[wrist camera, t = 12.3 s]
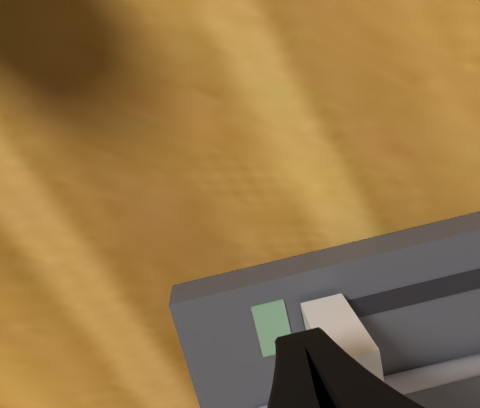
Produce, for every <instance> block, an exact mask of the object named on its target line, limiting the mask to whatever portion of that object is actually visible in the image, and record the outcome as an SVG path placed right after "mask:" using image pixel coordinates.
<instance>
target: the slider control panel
mask: <svg viewBox="0 0 480 408" xmlns="http://www.w3.org/2000/svg"><path fill="white" fill-rule="evenodd" d="M340 293H342V295H343V296H344V298H345V299H346V301H347V302H348V304H349V305H350V307H351V308H352V310H353V311H354V313H355V314H356V316H357V317H358V319H359V320H360V322H361V323H362V325H363V326H364V327H365V329H366V330H367V332H368V333H369V335H370V336H371V338H372V339H373V341H374V342H375V344H376V345H377V347H378V348H379V351H380V357H381V364H382V370H383V377H384V382H385V383H386V384H388V385H389V386H391V387H392V388H394V389H395V390H397V391H398V392H400V393H401V394H403V395H404V396H406V397H408V398H409V399H411V400H413V401H414V402H416V403H418V404H419V405H421V406H423V407H425V408H480V212H476V213H472V214H468V215H464V216H460V217H455V218H451V219H447V220H443V221H439V222H435V223H431V224H426V225H422V226H418V227H414V228H410V229H406V230H402V231H397V232H393V233H389V234H385V235H381V236H377V237H373V238H368V239H364V240H360V241H356V242H352V243H348V244H344V245H339V246H335V247H331V248H327V249H323V250H319V251H315V252H310V253H306V254H302V255H298V256H294V257H290V258H286V259H282V260H277V261H273V262H269V263H265V264H261V265H257V266H253V267H248V268H244V269H240V270H236V271H232V272H228V273H224V274H219V275H215V276H211V277H207V278H203V279H199V280H195V281H190V282H186V283H182V284H178V285H174V286H172V292H171V297H170V302H169V307H170V310H171V314H172V317H173V320H174V323H175V327H176V330H177V333H178V336H179V340H180V343H181V346H182V349H183V353H184V356H185V359H186V362H187V366H188V369H189V372H190V375H191V379H192V382H193V385H194V388H195V392H196V395H197V398H198V401H199V405H200V408H267V406H268V402H269V397H270V393H271V388H272V383H273V376H274V370H275V359H276V347H275V340H276V339H277V337H280V336H284V335H288V334H292V333H296V332H301V331H305V330H306V329H305V324H304V319H303V314H302V310H301V305H300V303H303V302H307V301H312V300H316V299H320V298H324V297H328V296H332V295H336V294H340Z"/></svg>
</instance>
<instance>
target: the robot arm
mask: <svg viewBox="0 0 480 408" xmlns="http://www.w3.org/2000/svg"><path fill="white" fill-rule="evenodd" d="M275 347H276V359H275V370H274V376H273V383H272V388H271V393H270V397H269V402H268V406H267V408H425V407H423V406H421V405H419V404H418V403H416V402H414V401H413V400H411V399H409V398H408V397H406V396H404V395H403V394H401V393H400V392H398V391H397V390H395V389H394V388H392V387H391V386H389V385H388V384H386V383H385V382H383V381H382V380H381V379H379V378H378V377H376V376H375V375H374V374H372V373H371V372H370V371H368V370H367V369H366V368H365V367H363V366H362V365H361V364H360V363H358V362H357V361H356V360H355V359H354V358H352V357H351V356H350V355H349V354H348V353H346V352H345V351H344V350H343V349H342V348H341V347H340V346H339V345H338V344H337V343H335V342H334V341H333V340H332V339H331V338H330V337H329V336H328V335H327V334H326V333H325V332H324V330H322V329H321V328H319V327H317V328H313V329H309V330H305V331H301V332H296V333H292V334H288V335H284V336H280V337H277V339H276V340H275Z"/></svg>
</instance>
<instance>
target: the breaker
mask: <svg viewBox="0 0 480 408" xmlns="http://www.w3.org/2000/svg"><path fill="white" fill-rule="evenodd" d="M300 305H301V310H302V314H303V319H304V324H305V329H306V330H309V329H313V328H317V327H319V328H321V329H322V330H324V332H325V333H326V334H327V335H328V336H329V337H330V338H331V339H332V340H333V341H334V342H335V343H337V344H338V345H339V346H340V347H341V348H342V349H343V350H344V351H345V352H346V353H348V354H349V355H350V356H351V357H352V358H354V359H355V360H356V361H357V362H358V363H360V364H361V365H362V366H363V367H365V368H366V369H367V370H368V371H370V372H371V373H372V374H374V375H375V376H376V377H378V378H379V379H381V380H382V381H383V382H384V377H383V370H382V364H381V357H380V351H379V348H378V347H377V345H376V344H375V342H374V341H373V339H372V338H371V336H370V335H369V333H368V332H367V330H366V329H365V327H364V326H363V325H362V323H361V322H360V320H359V319H358V317H357V316H356V314H355V313H354V311H353V310H352V308H351V307H350V305H349V304H348V302H347V301H346V299H345V298H344V296H343V295H342V293H340V294H336V295H332V296H328V297H324V298H320V299H316V300H312V301H307V302H303V303H300Z"/></svg>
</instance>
